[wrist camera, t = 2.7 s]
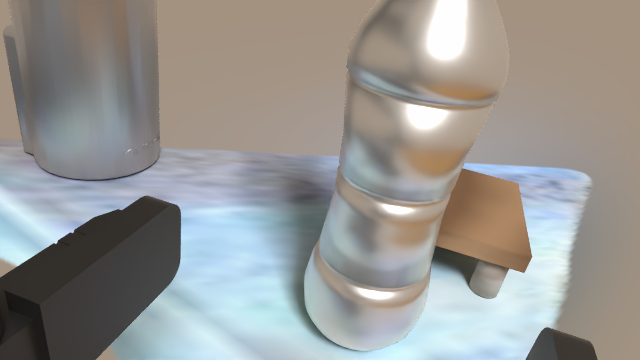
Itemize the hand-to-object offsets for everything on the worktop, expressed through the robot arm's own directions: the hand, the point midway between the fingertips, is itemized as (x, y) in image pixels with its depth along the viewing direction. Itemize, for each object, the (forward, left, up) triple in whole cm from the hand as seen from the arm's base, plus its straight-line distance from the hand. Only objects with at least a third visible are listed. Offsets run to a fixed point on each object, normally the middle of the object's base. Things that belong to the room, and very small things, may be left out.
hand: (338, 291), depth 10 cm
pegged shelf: (+3, +21, -12) cm, 25 cm away
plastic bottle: (0, +11, -12) cm, 16 cm away
